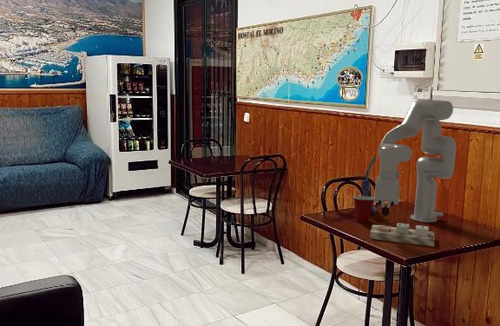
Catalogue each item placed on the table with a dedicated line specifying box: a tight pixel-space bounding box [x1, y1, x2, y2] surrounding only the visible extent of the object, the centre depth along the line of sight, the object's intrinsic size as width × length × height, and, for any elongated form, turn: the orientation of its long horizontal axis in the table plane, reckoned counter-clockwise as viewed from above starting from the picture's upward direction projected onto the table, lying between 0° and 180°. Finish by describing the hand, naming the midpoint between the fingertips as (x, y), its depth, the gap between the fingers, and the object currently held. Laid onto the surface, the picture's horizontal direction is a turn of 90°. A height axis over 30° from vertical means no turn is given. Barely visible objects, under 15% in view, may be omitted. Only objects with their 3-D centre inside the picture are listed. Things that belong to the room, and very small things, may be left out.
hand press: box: [360, 156, 378, 214], centre depth 264 cm, size 19×9×28 cm, turn 154°
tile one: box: [415, 225, 430, 237], centre depth 216 cm, size 5×5×4 cm
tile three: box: [377, 224, 391, 232], centre depth 221 cm, size 5×5×4 cm
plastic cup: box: [352, 195, 375, 223], centre depth 245 cm, size 11×11×12 cm
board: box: [369, 224, 436, 247], centre depth 219 cm, size 26×12×3 cm, turn 72°
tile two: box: [396, 222, 410, 234], centre depth 219 cm, size 5×5×4 cm
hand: (385, 215), depth 221 cm, fingers closed
